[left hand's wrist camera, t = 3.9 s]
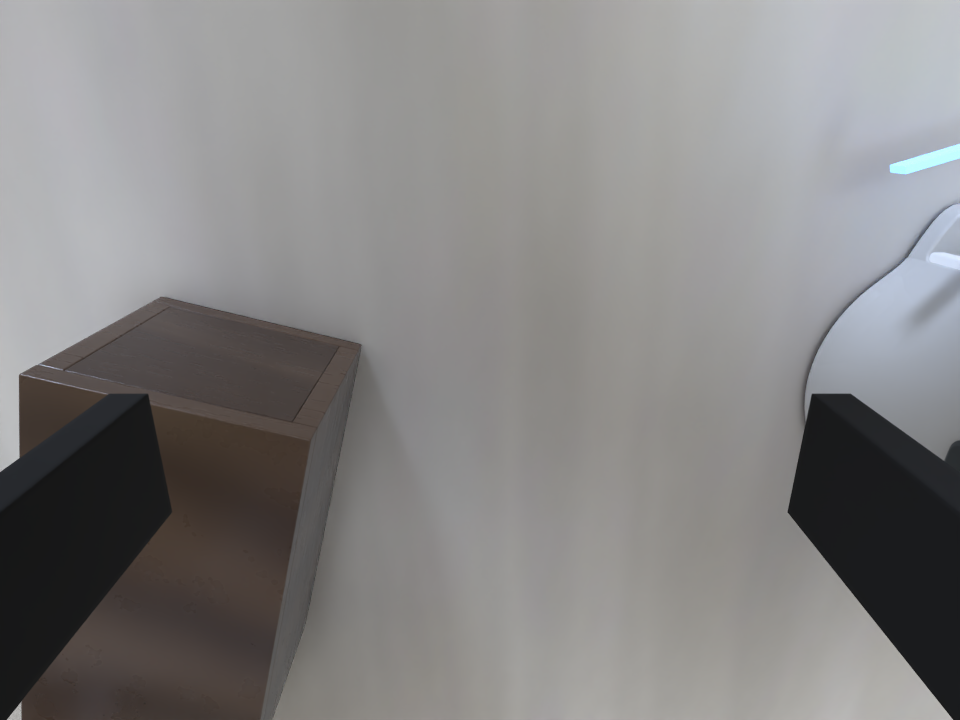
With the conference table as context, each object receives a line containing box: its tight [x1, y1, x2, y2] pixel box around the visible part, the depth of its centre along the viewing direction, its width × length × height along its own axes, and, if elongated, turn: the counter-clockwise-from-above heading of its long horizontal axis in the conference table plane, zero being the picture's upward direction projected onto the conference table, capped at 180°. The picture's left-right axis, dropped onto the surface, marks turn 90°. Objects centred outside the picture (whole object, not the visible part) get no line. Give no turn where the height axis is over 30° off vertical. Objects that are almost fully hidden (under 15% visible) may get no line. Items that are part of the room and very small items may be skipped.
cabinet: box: [19, 297, 361, 720], centre depth 30 cm, size 19×10×10 cm, turn 165°
